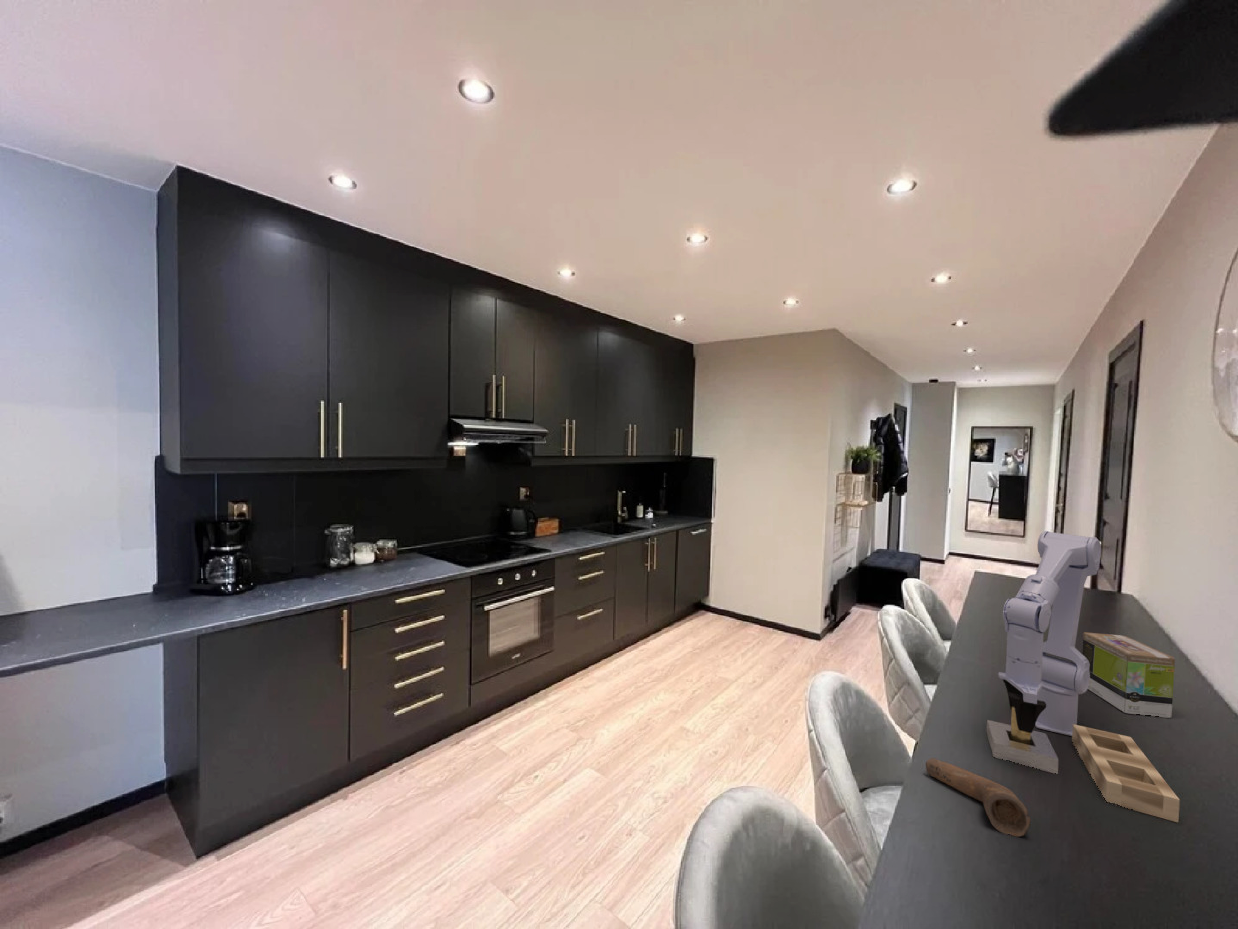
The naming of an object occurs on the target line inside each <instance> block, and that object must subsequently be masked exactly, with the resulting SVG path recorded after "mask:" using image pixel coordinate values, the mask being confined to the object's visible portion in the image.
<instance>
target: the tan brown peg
mask: <svg viewBox="0 0 1238 929" xmlns="http://www.w3.org/2000/svg"><path fill="white" fill-rule="evenodd" d="M1010 725H1011V739H1010V740H1011V741H1015V742H1019V743H1023V744H1027V745H1030V740H1031V733H1028V732H1024V731H1020V730H1019V729H1018V726H1017V721H1016V713H1015V708H1014V706H1013V707H1012V712H1011V718H1010Z"/></svg>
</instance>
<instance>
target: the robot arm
mask: <svg viewBox="0 0 1238 929" xmlns="http://www.w3.org/2000/svg"><path fill="white" fill-rule="evenodd" d="M1101 545H1102V544H1101V542H1100V540H1099V539H1098V538H1097V537H1096V536H1085V535H1084V536H1083V535H1076V534H1070V533H1069V534H1067V533H1062V532H1061V533H1060V532H1051V531H1048V530H1044V531H1043V532H1042V533H1041V534H1040V535H1039V537H1038V540H1037V552H1038V554H1039V558H1040V562H1039V564H1038V567H1037V570H1036V572H1035V574H1030V575H1027V577H1026V578H1025V579H1024V581H1023V583H1022V585H1021V587H1020V588H1019V590H1018V592H1017V594H1016V595H1015V596H1014V597H1011V598H1007V600H1006V601H1005V603H1004V604H1003V609H1002V610H1003V611H1002V619H1003V622H1004V631H1005V632H1006V633H1007V634H1006V638H1007V639H1006V655H1005V656H1006V659H1005V660H1006V662H1005V672H1001V671H999V672H998V673H997V674H998V677H999V679H1001V680H1002V681H1003V683H1004V686H1005V689H1006V693H1007V696H1008V704H1009V708H1010V712H1011V713H1012V707H1013V706H1014V708H1015V713H1016V721H1017V726H1018V729H1019V730H1020V731H1024V732H1028V733H1032V731H1034V729H1035V727H1036V729H1040V730H1045V731H1048V732H1054V733H1058V734H1060V735H1066V736H1070V737H1072V731H1073V724H1075V725H1078V724H1077V723H1078V707H1079V705H1078V704H1079V695H1082V694H1084V693H1086V692H1087V691H1088V690H1089V689H1088V686H1089V681H1090V672H1089V667H1090V664H1089V661H1088V659H1087V658H1086V657H1085V656H1084V655H1082V653H1081V651H1079V649H1078V648H1076V642H1077V636H1078V635H1077V634H1078V628H1079V622H1080V614H1081V610H1082V603H1083V596H1084V588H1085V584H1086V582H1087V579H1088V577H1090V576H1096V575H1098V571H1099V569H1100V562H1101V555H1102V547H1101ZM1047 629H1048V633H1047V634H1048V635H1047V640H1046V641H1044V633H1046V631H1047ZM1047 654H1050V655H1047ZM1051 655H1053V656H1051ZM1055 656H1056V657H1055ZM1058 657H1060V658H1058ZM1062 658H1064V659H1062ZM1065 659H1066V660H1065ZM1069 660H1070V661H1069ZM1071 661H1072V662H1071Z"/></svg>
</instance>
